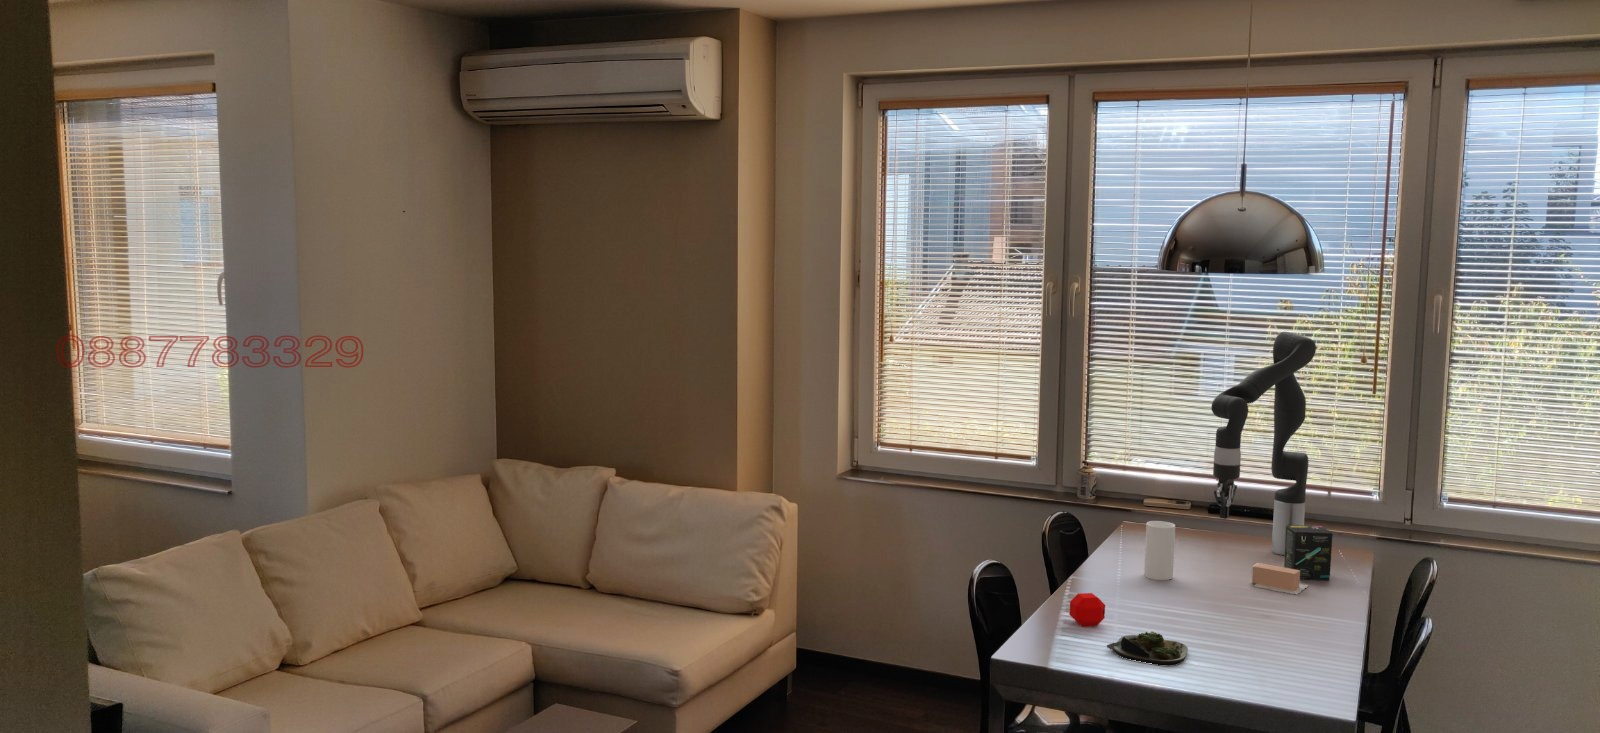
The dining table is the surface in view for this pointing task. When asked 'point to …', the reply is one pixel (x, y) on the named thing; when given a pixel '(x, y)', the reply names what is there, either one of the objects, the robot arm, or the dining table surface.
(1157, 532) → the cup
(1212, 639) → the dining table surface
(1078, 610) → the ball
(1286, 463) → the robot arm
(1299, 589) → the mat
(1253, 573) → the block
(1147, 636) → the salad plate
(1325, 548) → the tampon box
